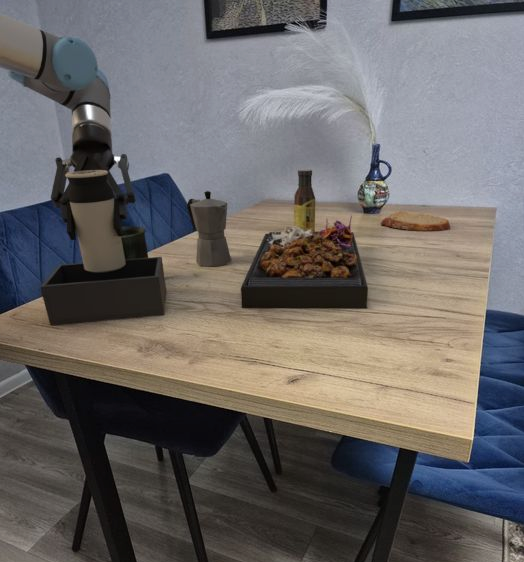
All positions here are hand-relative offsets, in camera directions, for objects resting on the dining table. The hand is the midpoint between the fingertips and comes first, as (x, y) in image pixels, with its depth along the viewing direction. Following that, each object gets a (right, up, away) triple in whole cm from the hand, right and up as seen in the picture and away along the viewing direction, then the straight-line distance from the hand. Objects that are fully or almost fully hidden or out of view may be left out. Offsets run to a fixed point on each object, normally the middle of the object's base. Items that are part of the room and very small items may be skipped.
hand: (95, 234), depth 88 cm
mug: (-2, -6, +23) cm, 24 cm away
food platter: (+42, -3, +25) cm, 49 cm away
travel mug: (0, -5, +6) cm, 8 cm away
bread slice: (+80, +18, +65) cm, 105 cm away
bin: (0, -13, +10) cm, 16 cm away
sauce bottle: (+44, +11, +54) cm, 71 cm away
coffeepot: (+18, +2, +37) cm, 41 cm away
